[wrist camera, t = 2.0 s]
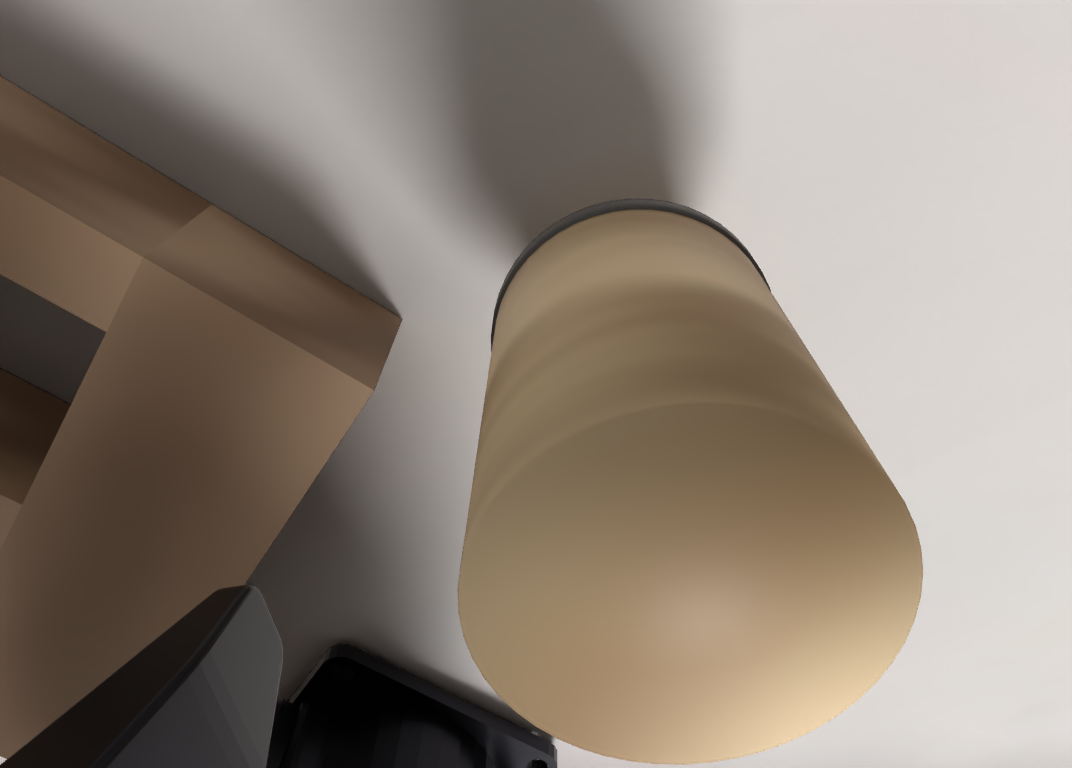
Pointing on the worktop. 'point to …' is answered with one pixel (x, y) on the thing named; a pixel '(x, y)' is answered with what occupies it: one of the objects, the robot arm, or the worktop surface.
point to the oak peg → (672, 502)
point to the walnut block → (151, 407)
